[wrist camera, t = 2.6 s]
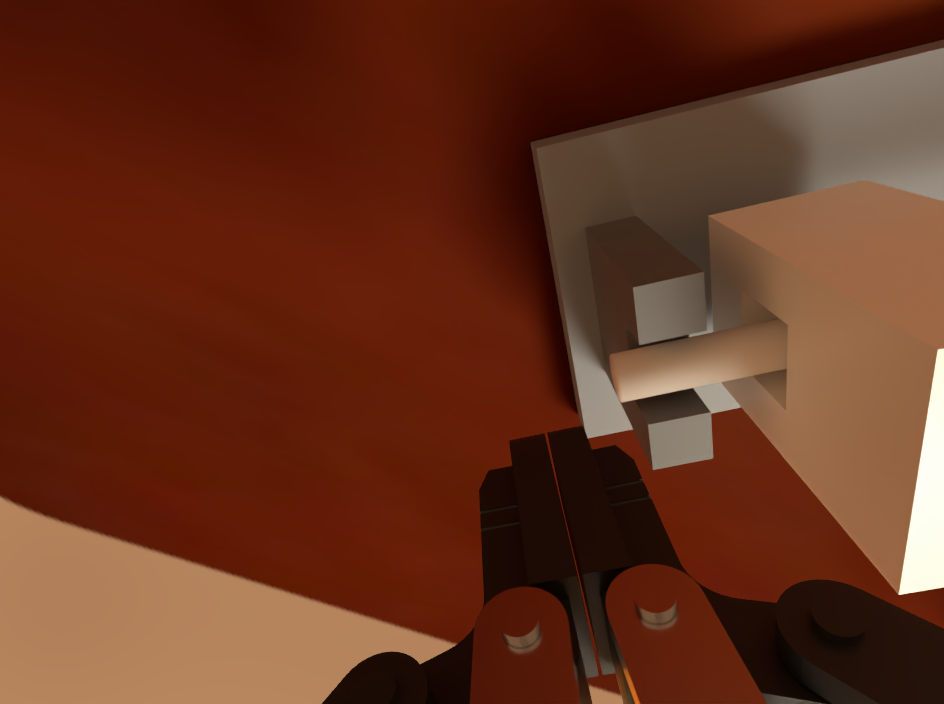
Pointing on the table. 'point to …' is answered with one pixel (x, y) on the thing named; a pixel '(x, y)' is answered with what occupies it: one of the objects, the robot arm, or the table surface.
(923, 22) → the table surface
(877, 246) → the sleeve
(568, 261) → the rod slider fixture
